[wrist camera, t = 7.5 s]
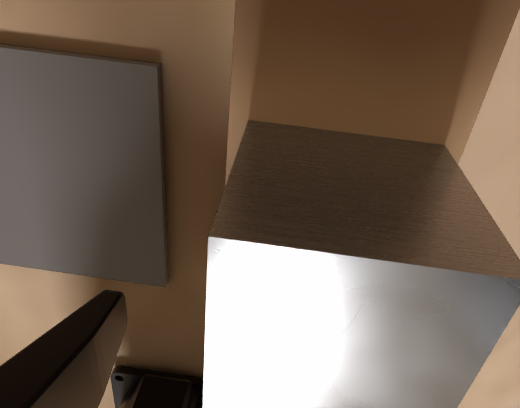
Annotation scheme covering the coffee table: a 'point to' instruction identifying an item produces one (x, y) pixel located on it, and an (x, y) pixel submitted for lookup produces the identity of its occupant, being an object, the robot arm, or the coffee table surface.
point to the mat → (82, 165)
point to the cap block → (350, 275)
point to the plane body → (366, 66)
